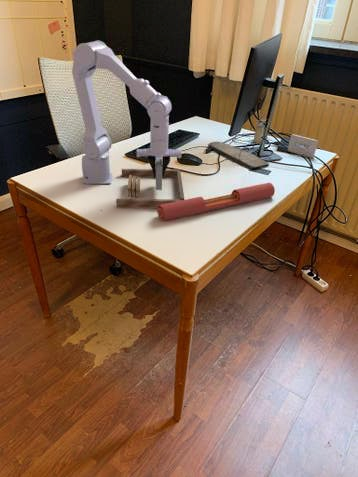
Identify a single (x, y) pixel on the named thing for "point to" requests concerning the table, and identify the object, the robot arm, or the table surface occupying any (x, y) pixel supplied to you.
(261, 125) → the lighter
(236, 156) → the stone slab
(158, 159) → the grey upright plank
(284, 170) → the table surface
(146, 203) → the rack
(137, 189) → the offcut stack
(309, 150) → the cassette
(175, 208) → the blood vessel
